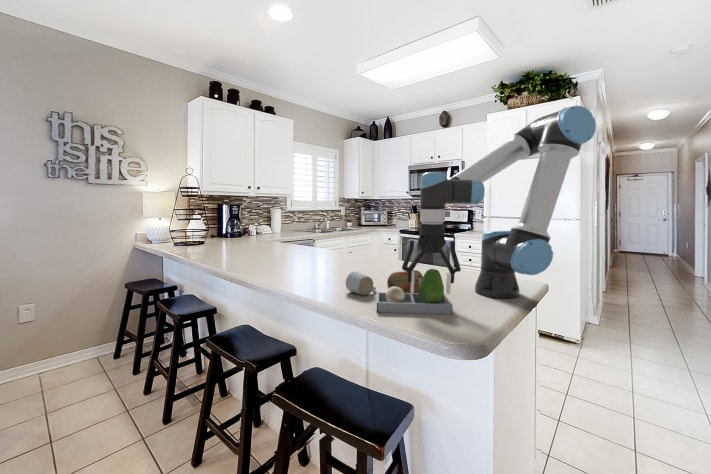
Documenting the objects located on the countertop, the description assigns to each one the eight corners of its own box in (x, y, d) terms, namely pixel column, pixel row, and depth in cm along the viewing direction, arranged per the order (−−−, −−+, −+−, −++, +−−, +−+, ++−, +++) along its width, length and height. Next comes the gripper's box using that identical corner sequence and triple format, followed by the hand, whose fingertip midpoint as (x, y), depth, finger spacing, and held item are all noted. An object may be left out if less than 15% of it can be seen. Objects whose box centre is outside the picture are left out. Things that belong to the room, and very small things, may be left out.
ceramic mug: (359, 297, 115) (360, 276, 114) (345, 292, 121) (345, 272, 120) (380, 293, 122) (381, 272, 121) (365, 288, 128) (366, 269, 127)
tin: (390, 296, 117) (390, 273, 116) (385, 294, 120) (385, 271, 119) (423, 291, 124) (424, 269, 123) (418, 289, 126) (419, 268, 126)
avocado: (448, 306, 103) (449, 269, 102) (431, 311, 99) (431, 272, 98) (430, 300, 110) (430, 265, 109) (412, 304, 105) (413, 268, 104)
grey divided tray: (444, 302, 110) (444, 294, 109) (452, 314, 98) (452, 304, 98) (376, 300, 111) (377, 292, 111) (376, 312, 100) (376, 302, 99)
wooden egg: (403, 302, 108) (404, 284, 107) (405, 308, 102) (405, 289, 101) (385, 301, 108) (385, 284, 108) (385, 307, 102) (385, 288, 102)
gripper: (466, 222, 104) (464, 290, 107) (394, 222, 106) (393, 288, 108) (473, 224, 97) (470, 297, 99) (395, 223, 99) (394, 295, 101)
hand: (430, 292), depth 104 cm, fingers open, 10 cm apart
